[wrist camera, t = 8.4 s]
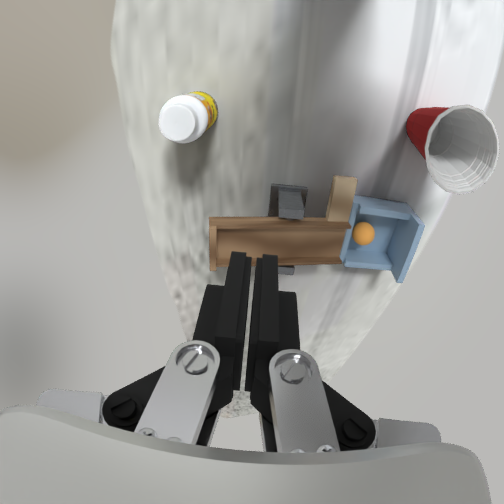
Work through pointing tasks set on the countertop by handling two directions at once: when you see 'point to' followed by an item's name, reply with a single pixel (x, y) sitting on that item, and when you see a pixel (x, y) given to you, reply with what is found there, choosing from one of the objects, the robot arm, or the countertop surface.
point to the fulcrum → (287, 209)
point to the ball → (363, 233)
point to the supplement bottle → (187, 116)
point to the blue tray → (383, 236)
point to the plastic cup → (455, 145)
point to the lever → (286, 233)
